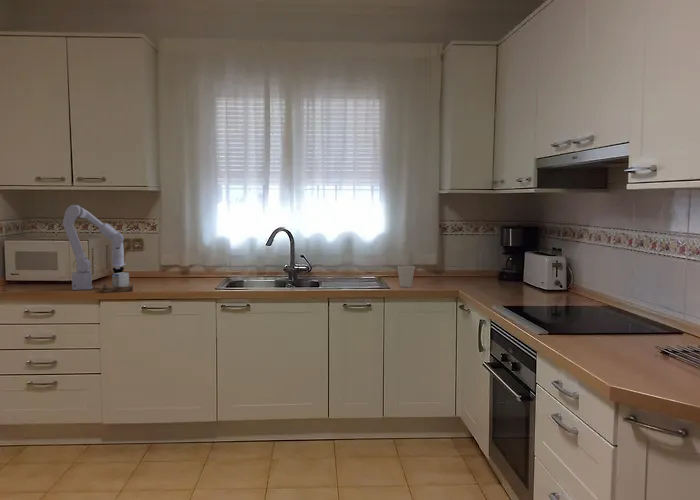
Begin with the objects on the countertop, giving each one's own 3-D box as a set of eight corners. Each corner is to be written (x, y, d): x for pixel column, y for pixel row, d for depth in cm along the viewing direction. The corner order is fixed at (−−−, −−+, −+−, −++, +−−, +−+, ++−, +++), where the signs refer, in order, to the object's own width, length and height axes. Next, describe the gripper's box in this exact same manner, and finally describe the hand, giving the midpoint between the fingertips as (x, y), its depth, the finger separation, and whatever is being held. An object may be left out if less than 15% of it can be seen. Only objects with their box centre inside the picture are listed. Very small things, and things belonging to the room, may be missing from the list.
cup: (409, 285, 333) (410, 265, 332) (418, 287, 324) (418, 267, 323) (393, 285, 330) (393, 266, 329) (401, 288, 320) (401, 268, 319)
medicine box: (122, 288, 317) (122, 272, 316) (129, 288, 316) (129, 272, 315) (112, 290, 310) (111, 273, 309) (119, 291, 308) (118, 274, 308)
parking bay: (102, 292, 302) (102, 287, 302) (103, 289, 313) (103, 284, 313) (132, 291, 307) (132, 286, 307) (133, 288, 318) (133, 283, 317)
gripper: (125, 256, 313) (126, 282, 315) (126, 254, 327) (127, 279, 328) (111, 257, 311) (111, 283, 312) (112, 254, 325) (113, 279, 326)
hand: (118, 281), depth 320 cm, fingers closed
